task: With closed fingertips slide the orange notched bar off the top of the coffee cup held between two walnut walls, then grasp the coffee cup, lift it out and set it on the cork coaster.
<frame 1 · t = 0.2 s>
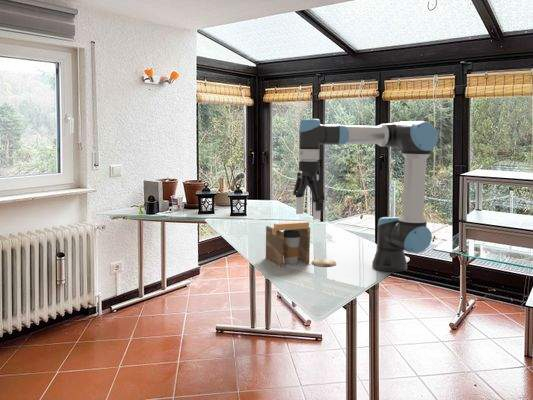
hand: (307, 216, 191), 28 cm above the table, fingers open, 13 cm apart
cradle: (290, 263, 232), on the table
orange notched bar: (291, 228, 230), point 16 cm above the table, slide at 0.0 cm
coffee cup: (290, 263, 232), on the table
coaster: (323, 263, 232), on the table
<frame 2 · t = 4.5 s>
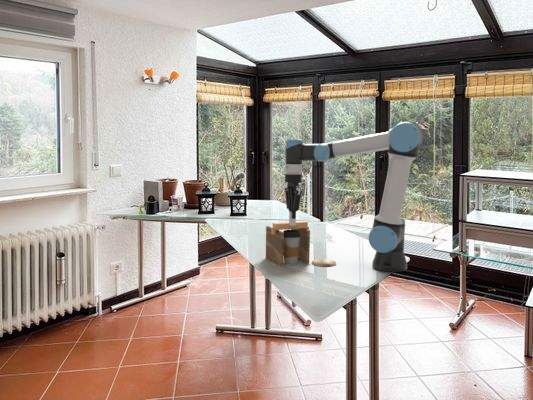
hand: (292, 225, 229), 18 cm above the table, fingers closed
orange notched bar: (290, 227, 231), point 16 cm above the table, slide at 1.2 cm, touching gripper
everything else where it was.
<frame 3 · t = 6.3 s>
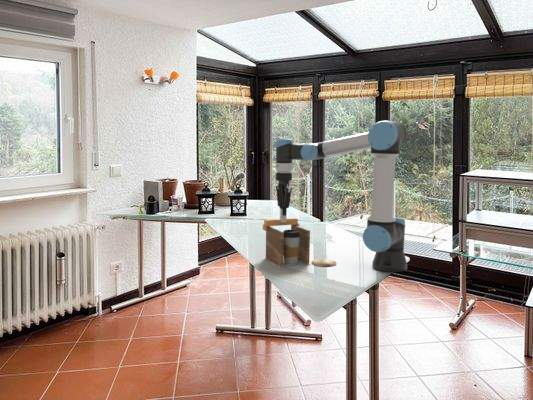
hand: (283, 221, 238), 18 cm above the table, fingers closed
orange notched bar: (281, 223, 240), point 16 cm above the table, slide at 11.2 cm, touching gripper
everything else where it was.
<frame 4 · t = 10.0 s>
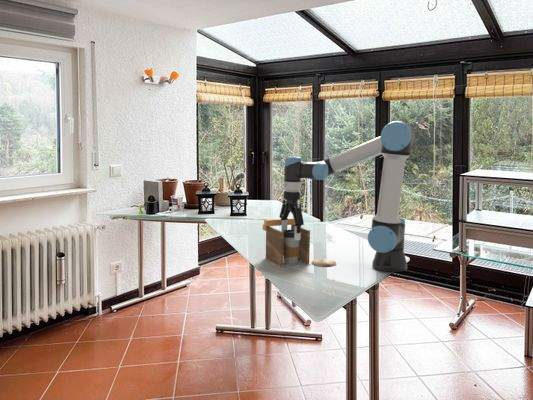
hand: (290, 237, 230), 12 cm above the table, fingers open, 13 cm apart
nothing on the table moved.
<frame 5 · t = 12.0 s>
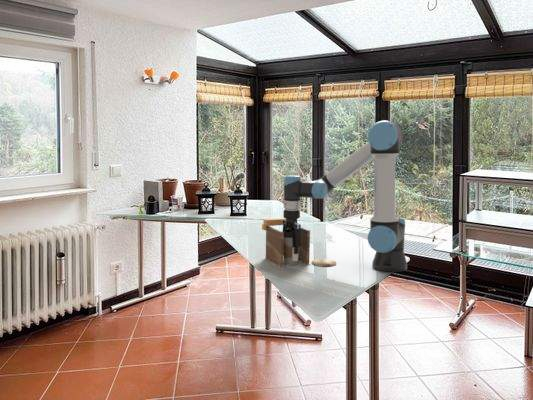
hand: (290, 258, 232), 2 cm above the table, fingers closed on coffee cup, 7 cm apart
orange notched bar: (280, 223, 241), point 16 cm above the table, slide at 11.9 cm
coffee cup: (290, 263, 232), on the table, touching gripper
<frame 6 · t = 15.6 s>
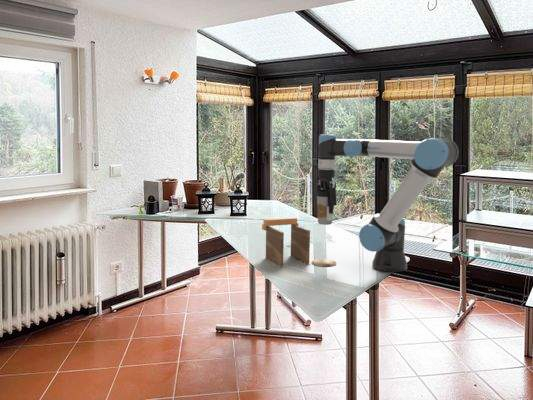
hand: (325, 218, 229), 21 cm above the table, fingers closed on coffee cup, 7 cm apart
coffee cup: (324, 224, 230), point 18 cm above the table, touching gripper
everything else where it was.
when the fingers open (4 cm above the table, at t = 19.4 s): coffee cup stays where it is, resting on coaster.
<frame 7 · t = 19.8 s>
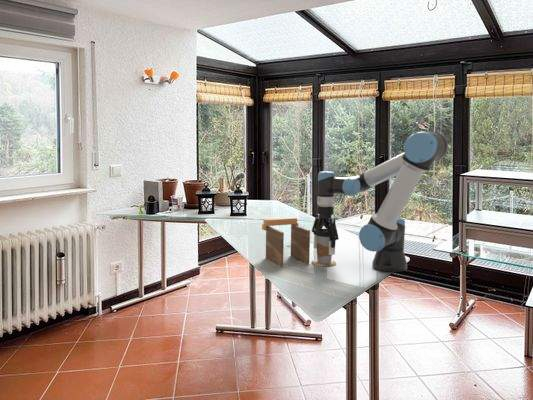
hand: (324, 251, 231), 6 cm above the table, fingers open, 13 cm apart
coffee cup: (324, 262, 232), resting on coaster
everything else where it was.
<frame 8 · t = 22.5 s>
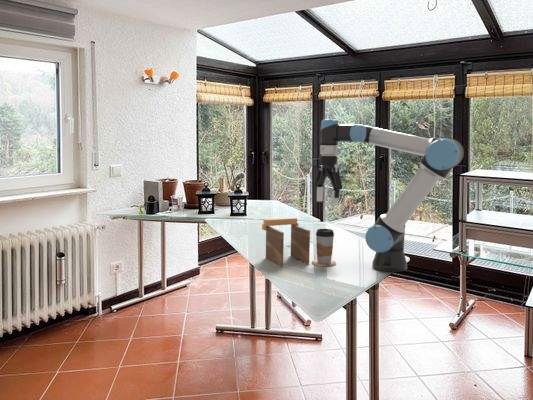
hand: (327, 203, 223), 29 cm above the table, fingers open, 13 cm apart
nothing on the table moved.
at the end: orange notched bar slide at 11.9 cm; coffee cup 0.2 cm from the coaster (horizontally); coffee cup tilted 0° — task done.
